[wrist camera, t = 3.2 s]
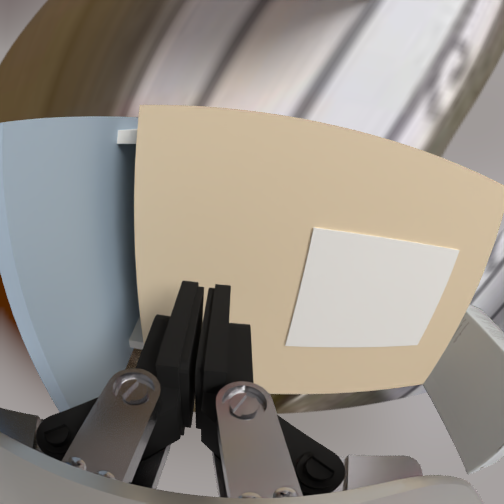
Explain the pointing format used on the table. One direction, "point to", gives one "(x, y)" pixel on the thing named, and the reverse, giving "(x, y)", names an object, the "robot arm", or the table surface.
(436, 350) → the sleeve
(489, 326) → the skincare box
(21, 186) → the tray
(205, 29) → the table surface
